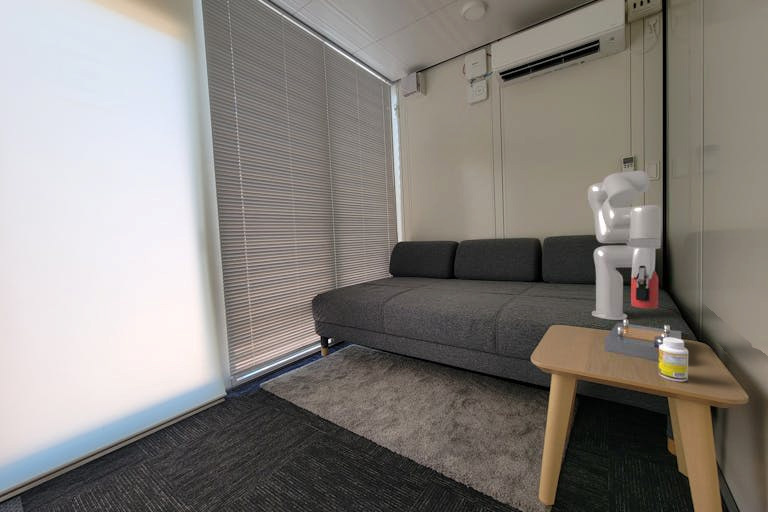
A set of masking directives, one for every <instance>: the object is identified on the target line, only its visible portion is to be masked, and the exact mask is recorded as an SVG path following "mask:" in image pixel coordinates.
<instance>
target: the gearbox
mask: <svg viewBox="0 0 768 512" xmlns="http://www.w3.org/2000/svg"><path fill="white" fill-rule="evenodd" d="M622 321H623V322H618V321H617V322H616V323H615V324H614V326H613V327H612V329H611V330H610V331H609V333H608V334H607V335H606V336H605V337H604V351H607V352H612V353H616V354H621V355H626V356H631V357H636V358H640V359H646V360H651V361H654V362H655V361H656V362H659V346H660V345H661V344H663V338H665V337H671V338H677V339H681V340H682V331H680V330H671V326H670V324H669V325H668V324H664V325H663V328H658V327H651V326H646V325H644V326H643V325H639V324H638V325H637V324H631V323H630V324H629V319H623V320H622Z"/></svg>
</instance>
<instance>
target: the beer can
mask: <svg viewBox="0 0 768 512" xmlns="http://www.w3.org/2000/svg"><path fill="white" fill-rule="evenodd" d="M645 272H646V270H645ZM644 278H647V277H644ZM630 279H631V281H630V282H631V283H630V284H631V285H630V287H631V289H630V290H631V291H630V292H631V293H630V301H631V302H630V305H631V306H632V307H634V308H636V309H641V310H655V309H657V308H658V307H659V276H658V274H657V271H656V270H655V271H654V272H653V276H652V279H650V280H649V285H648V288H650V291H649V301H641V300H636V288H637V277H636V278H635V279H632V276H631V278H630Z"/></svg>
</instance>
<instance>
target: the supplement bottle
mask: <svg viewBox="0 0 768 512" xmlns="http://www.w3.org/2000/svg"><path fill="white" fill-rule="evenodd" d="M658 374H659V375H660V376H661V377H662V378H664V379H666V380H669V381H673V382H687V381H688V380H689V350H688V349H687V347H685V341H684V340H683V339H682V338H681V339H677V338H671V337H665V338H663V344H661V345H660V346H659V361H658Z"/></svg>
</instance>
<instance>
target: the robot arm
mask: <svg viewBox="0 0 768 512" xmlns="http://www.w3.org/2000/svg"><path fill="white" fill-rule="evenodd" d="M650 183H651V182H650V176H649V175H648V174H647V172H646V171H643V170H635V171H634V170H633V171H623V172H615V173H612V174H609V175H607V176H606V177H605V178H603V181H602V182H597V183H593V184H591V185H590V186H589V187H588V190H587V201H588V203H589V207H590V208H591V210H592V213H593V216H594V229H595V230H594V231H595V237H596V240H597V241H598V243H600V244H618V245H602V246H599V247H596V248H595V249H594V251H593V262H594V266H595V310H592V312H591V315H592V316H593V317H595V318H599V319H601V320H602V319H603V320H610V321H611V320H612V321H623V319H626V320H628V315H627V314H626V313H624V311H623V308H624V307H623V303H624V302H623V301H624V300H623V299H624V298H623V297H624V291H623V290H624V279H623V277H624V276H623V275H622V274H621V273H620V272H619V271H618V270H617V269H616V268H631V277H632V279H635V278H636V277H637V288H636V300H641V301H649V291H650V288H648V285H649V280H650V279H652V276H653V272H654V271H656V270H655V269H656V250H657V249H661V246H662V245H661V239H662V238H661V236H662V233H661V230H662V226H661V225H662V208H661V207H660V206H659V205H656V204H651V205H650V204H649V205H647V204H646V205H637V206H631V205H633V204H634V203H635V202H636V201H637V199H638V198H639V196H640V195H642V194H644V192H646V191H647V190H648V188H649V185H650ZM619 244H623V245H619ZM625 244H626V245H625ZM645 270H646V272H645ZM644 277H647V278H644Z"/></svg>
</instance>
